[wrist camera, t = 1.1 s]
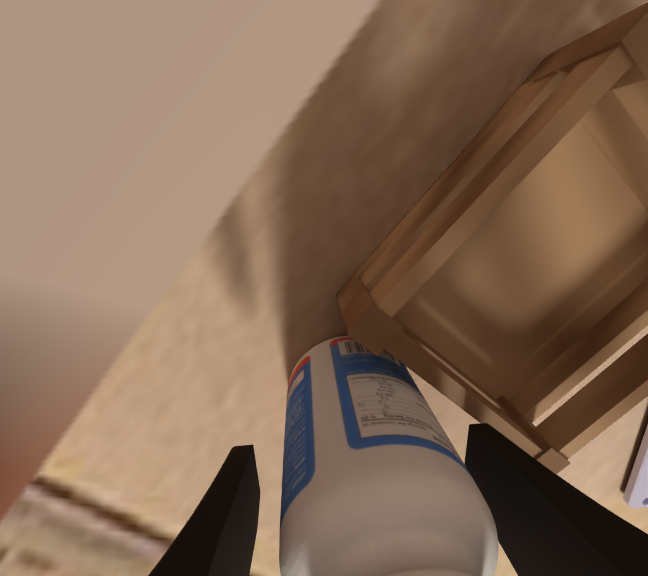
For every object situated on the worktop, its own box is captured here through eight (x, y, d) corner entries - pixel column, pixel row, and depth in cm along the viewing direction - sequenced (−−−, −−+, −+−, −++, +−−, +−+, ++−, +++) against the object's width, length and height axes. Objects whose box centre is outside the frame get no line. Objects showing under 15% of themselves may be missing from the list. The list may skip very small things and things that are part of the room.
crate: (548, 55, 11) (665, -7, 7) (688, 242, 13) (825, 262, 10) (336, 294, 13) (347, 334, 9) (490, 416, 15) (544, 483, 12)
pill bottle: (328, 451, 15) (366, 857, 6) (263, 371, 14) (182, 759, 4) (427, 397, 15) (639, 758, 5) (372, 307, 13) (538, 603, 4)
